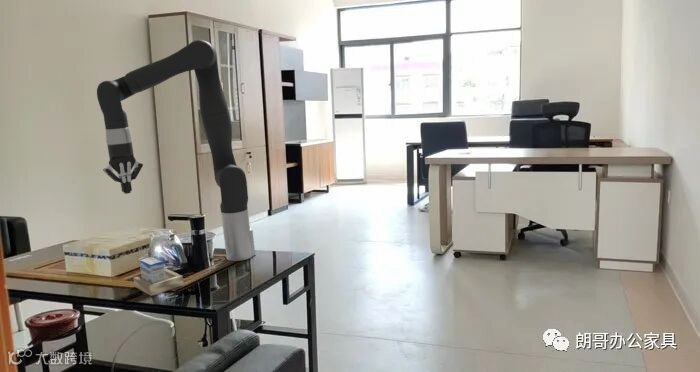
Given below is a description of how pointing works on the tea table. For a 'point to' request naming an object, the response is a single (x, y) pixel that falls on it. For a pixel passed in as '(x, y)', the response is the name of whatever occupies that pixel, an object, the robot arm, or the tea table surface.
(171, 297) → the tea table surface
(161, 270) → the medicine box
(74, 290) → the tea table surface
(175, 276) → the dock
